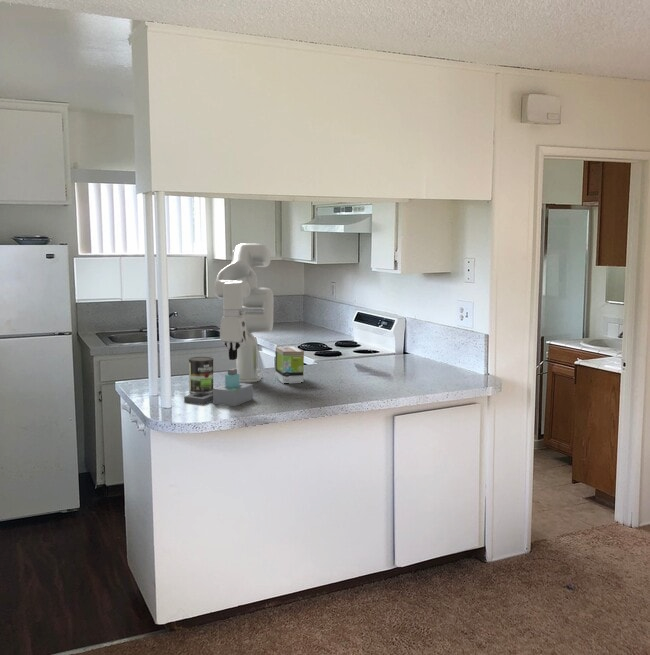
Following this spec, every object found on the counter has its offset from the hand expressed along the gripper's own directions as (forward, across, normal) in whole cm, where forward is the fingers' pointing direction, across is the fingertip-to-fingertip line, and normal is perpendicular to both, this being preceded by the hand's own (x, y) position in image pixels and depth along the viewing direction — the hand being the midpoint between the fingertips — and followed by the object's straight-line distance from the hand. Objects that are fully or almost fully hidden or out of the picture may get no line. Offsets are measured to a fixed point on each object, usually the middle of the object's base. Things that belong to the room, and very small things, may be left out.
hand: (233, 359), depth 282 cm
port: (+17, 0, 0) cm, 17 cm away
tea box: (+17, -2, -46) cm, 49 cm away
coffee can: (+17, +21, -9) cm, 29 cm away
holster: (+17, +12, +5) cm, 21 cm away
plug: (+15, 0, 0) cm, 15 cm away
